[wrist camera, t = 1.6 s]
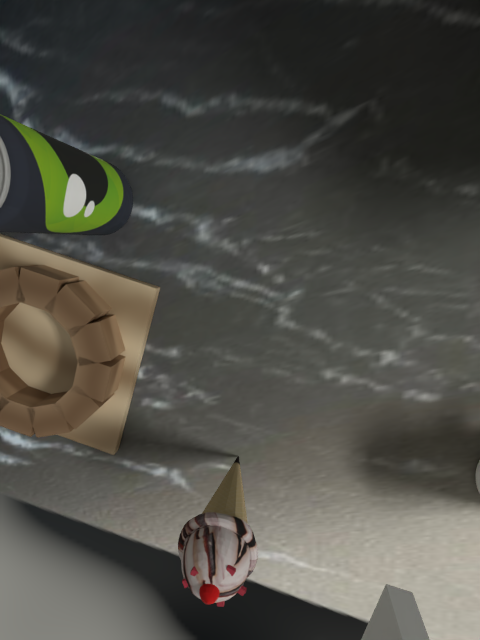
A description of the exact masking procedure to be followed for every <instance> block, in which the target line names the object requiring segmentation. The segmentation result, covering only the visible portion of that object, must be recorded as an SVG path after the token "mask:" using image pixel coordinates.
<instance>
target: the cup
mask: <svg viewBox="0 0 480 640" xmlns="http://www.w3.org/2000/svg"><path fill="white" fill-rule="evenodd" d="M475 478H476V485H477V489H478V491H479V493H480V460H479V462H478V465H477V468H476V474H475Z"/></svg>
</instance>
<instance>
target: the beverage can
mask: <svg viewBox="0 0 480 640" xmlns="http://www.w3.org/2000/svg"><path fill="white" fill-rule="evenodd" d="M132 206H133V195H132V190H131V187H130V184H129V182H128V180H127V178H126V177H125V175H124V174H123V173H122V172H121V171H120V170H119V169H118V168H117V167H115V166H114V165H112V164H110V163H108V162H106V161H104V160H101V159H99V158H97V157H95V156H92V155H90V154H88V153H86V152H83V151H81V150H79V149H77V148H74V147H72V146H70V145H68V144H65V143H63V142H61V141H59V140H56V139H54V138H52V137H50V136H47V135H45V134H43V133H41V132H38V131H36V130H34V129H32V128H29V127H27V126H25V125H23V124H20V123H18V122H16V121H14V120H12V119H9V118H7V117H5V116H3V115H0V232H20V233H52V234H83V235H107V234H111V233H114V232H116V231H117V230H119V229H120V228H121V227H122V226H123V225H124V224H125V223H126V222H127V220H128V218H129V216H130V214H131V211H132Z"/></svg>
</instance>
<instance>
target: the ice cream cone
mask: <svg viewBox="0 0 480 640" xmlns="http://www.w3.org/2000/svg"><path fill="white" fill-rule="evenodd" d="M178 552H179V556H180V559H181V561H182V572H183V576H184V579H183V580H182V583H183V585H184V587H185V588H186V587H188V588H189V589H190V591H191V593H193V594H194V595H195V596H196V597H198V598H200V599H201V600H202V601H203V602H204V603H205V604H213V603H217V606H222V607H223V606H224V601H226V600H228V599H229V598H231V597H232V596H234V595H235V594H236V593H239V594H241V595H242V596H243V595H244V594H245V592H246V588H245V587H244V586H243V584H244V582H245V580H246V578H247V577H248V576H249V575H250V574H251V573H252V572H253V570H254V568H255V566H256V563H257V558H258V549H257V544H256V541H255V538H254V534H253V532H252V530H251V528H250V526H249V525H248V524H247V516H246V509H245V501H244V493H243V486H242V478H241V470H240V463H239V456H238V457H237V459H236V460H235V462H234V464H233V465H232V467H231V468H230V470H229V471H228V473H227V475H226V476H225V478H224V479H223V481H222V483H221V484H220V486H219V487H218V489H217V491H216V492H215V494H214V495H213V497H212V499H211V500H210V502H209V503H208V505H207V507H206V508H205V510H204V511H203V513H202V514H200V515H198V516H196V517H194V518H192V519H191V520H189V521H188V522H187V523H186V524H185V525H184V527H183V529H182V531H181V534H180V537H179V541H178Z"/></svg>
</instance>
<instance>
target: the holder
mask: <svg viewBox="0 0 480 640" xmlns="http://www.w3.org/2000/svg"><path fill="white" fill-rule="evenodd" d="M159 290H160V287H158V286H155V285H152V284H149V283H146V282H143V281H140V280H137V279H134V278H131V277H128V276H125V275H122V274H119V273H116V272H113V271H110V270H107V269H104V268H101V267H98V266H95V265H92V264H89V263H86V262H83V261H80V260H77V259H74V258H71V257H68V256H65V255H62V254H59V253H56V252H53V251H50V250H47V249H44V248H41V247H38V246H35V245H32V244H29V243H26V242H23V241H20V240H17V239H14V238H11V237H8V236H5V235H2V234H0V426H2V427H5V428H8V429H10V430H13V431H16V432H19V433H22V434H24V435H27V436H30V437H31V436H32V435H33V434H36V437H43V436H49V435H56V434H57V435H60V436H63V437H65V438H68V439H71V440H74V441H76V442H79V443H82V444H85V445H88V446H90V447H93V448H96V449H99V450H101V451H104V452H107V453H110V454H113V455H114V454H115V453H116V452H117V451H118V449H119V445H120V442H121V438H122V434H123V430H124V426H125V422H126V418H127V414H128V410H129V407H130V403H131V399H132V395H133V391H134V387H135V383H136V379H137V375H138V372H139V368H140V364H141V360H142V356H143V352H144V348H145V344H146V340H147V337H148V333H149V329H150V325H151V321H152V317H153V313H154V309H155V305H156V302H157V298H158V294H159Z"/></svg>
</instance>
